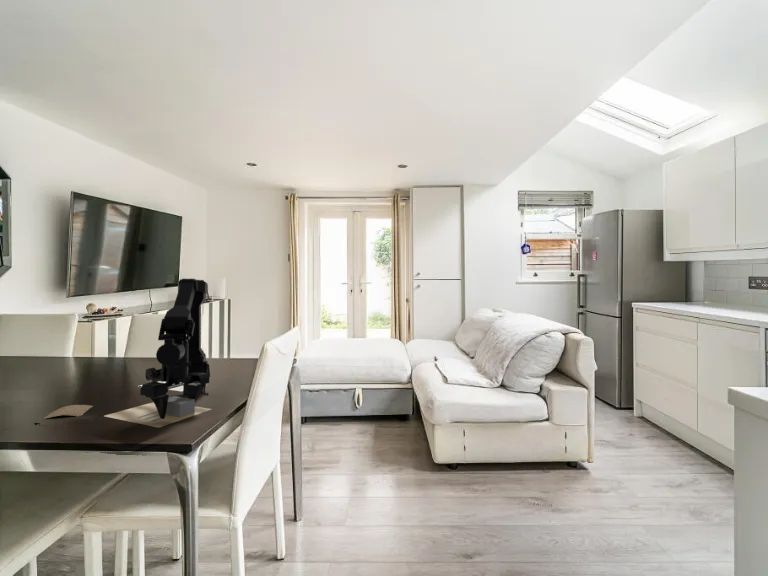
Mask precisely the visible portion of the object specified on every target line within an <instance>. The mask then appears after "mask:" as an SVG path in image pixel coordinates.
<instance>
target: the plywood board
mask: <svg viewBox="0 0 768 576" xmlns="http://www.w3.org/2000/svg"><path fill="white" fill-rule="evenodd" d="M212 410H213V409H212V408H208V407H202V406H201V407H200V406H195V415H194V416H196V415H200V414H202V413H205V412H208V411H212ZM105 417H106V418H111V419H116V420H121V421H125V422H130V423H135V424H139V425H140V424H141V425H144V426H150V427H153V428H162V427H164V426H167V425H171V424H173V423H177V422H179V421H181V420H176V419H171V418H166V417H165V418H164V419H161V418H160V416H159V413H158V411H157V408H156V406H155V404H154V402H153V401H152V402H149V403H148V402H147V403H146V404H141V405H138V406H134V407H131V408H128V409H127V408H126V409H123V410H119V411H117V412H114V413H109V414H105V415H104V418H105Z"/></svg>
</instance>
